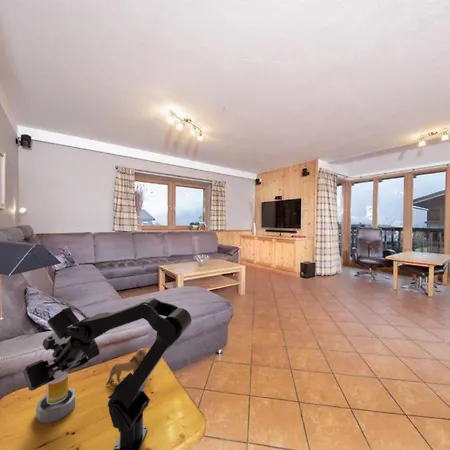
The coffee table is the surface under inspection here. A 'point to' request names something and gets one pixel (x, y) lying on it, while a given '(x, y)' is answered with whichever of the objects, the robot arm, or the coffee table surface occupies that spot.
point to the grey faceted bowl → (55, 408)
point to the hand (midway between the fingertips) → (55, 374)
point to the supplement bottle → (57, 388)
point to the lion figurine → (127, 365)
